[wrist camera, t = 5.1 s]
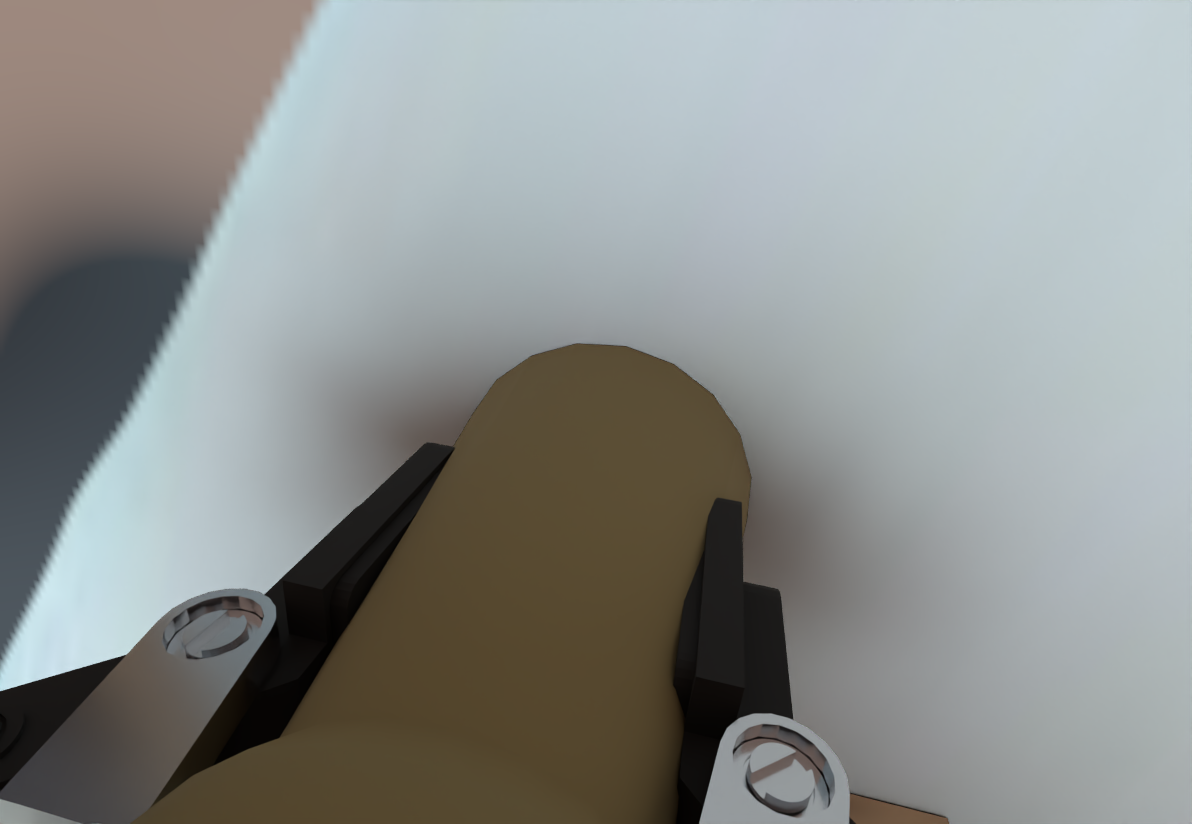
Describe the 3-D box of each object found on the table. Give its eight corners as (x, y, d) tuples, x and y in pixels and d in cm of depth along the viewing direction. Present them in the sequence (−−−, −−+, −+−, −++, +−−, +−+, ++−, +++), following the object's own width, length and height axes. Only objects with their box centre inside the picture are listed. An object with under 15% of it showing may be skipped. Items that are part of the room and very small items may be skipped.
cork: (712, 632, 14) (654, 1874, 4) (455, 564, 15) (-148, 1461, 5) (789, 381, 11) (1174, 2071, 1) (473, 314, 12) (-760, 1095, 2)
